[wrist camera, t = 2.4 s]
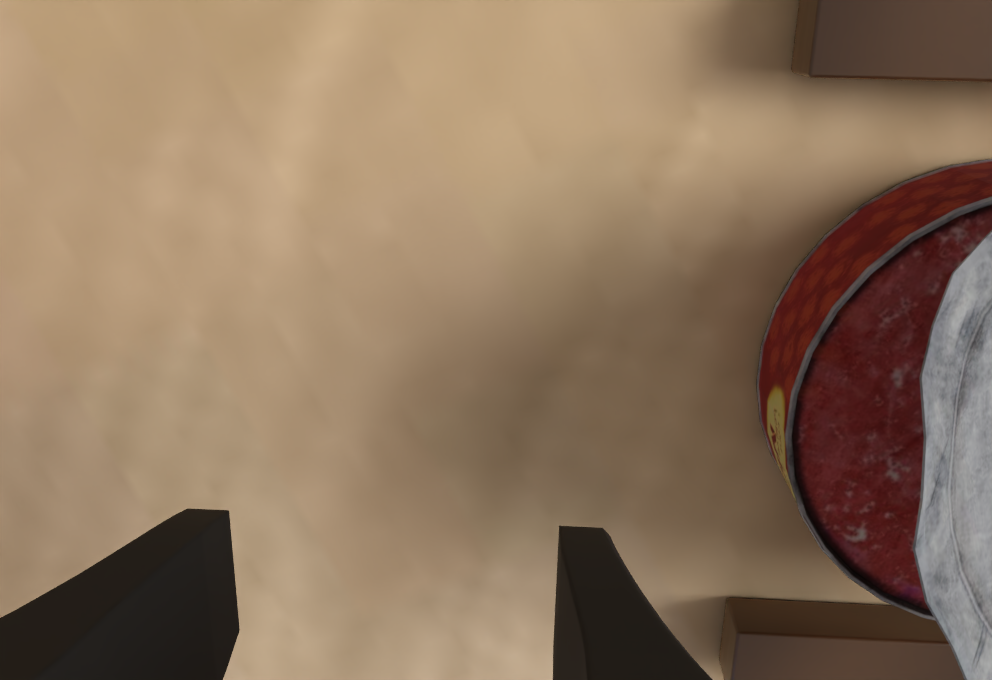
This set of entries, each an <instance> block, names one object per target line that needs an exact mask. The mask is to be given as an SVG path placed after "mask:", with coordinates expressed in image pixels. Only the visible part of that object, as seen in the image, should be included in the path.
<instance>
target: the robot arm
mask: <svg viewBox="0 0 992 680" xmlns="http://www.w3.org/2000/svg"><path fill="white" fill-rule="evenodd" d="M238 633H239V619H238V608H237V596H236V585H235V574H234V563H233V552H232V540H231V529H230V518H229V511H227V510H205V509H186V510H184V511H182V512H180V513H178V514H176V515H174V516H173V517H171V518H169V519H167V520H166V521H164V522H162V523H161V524H159V525H157V526H156V527H154V528H153V529H151V530H149V531H148V532H146V533H145V534H143V535H141V536H140V537H138V538H137V539H135V540H133V541H132V542H130V543H129V544H127V545H125V546H124V547H122V548H121V549H119V550H117V551H116V552H114V553H113V554H111V555H109V556H108V557H106V558H104V559H103V560H101V561H100V562H98V563H96V564H95V565H93V566H92V567H90V568H88V569H87V570H85V571H83V572H82V573H80V574H79V575H77V576H75V577H73V578H72V579H70V580H68V581H66V582H65V583H63V584H61V585H59V586H57V587H56V588H54V589H52V590H50V591H49V592H47V593H45V594H43V595H42V596H40V597H38V598H36V599H34V600H33V601H31V602H29V603H27V604H26V605H24V606H22V607H20V608H19V609H17V610H15V611H13V612H11V613H9V614H7V615H5V616H3V617H1V618H0V680H223V677H224V675H225V672H226V669H227V666H228V663H229V660H230V657H231V654H232V651H233V648H234V645H235V642H236V639H237V636H238ZM553 680H712V679H711V678H710V676H709V675H708V674H707V673H706V672H705V671H704V670H703V669H702V668H701V667H700V666H699V665H698V663H697V662H696V661H695V660H694V659H693V658H692V657H691V656H690V654H689V653H688V652H687V651H686V650H685V648H684V647H683V646H682V645H681V643H680V642H679V641H678V640H677V639H676V637H675V636H674V635H673V634H672V633H671V631H670V630H669V629H668V627H667V626H666V625H665V623H664V622H663V621H662V619H661V618H660V617H659V615H658V614H657V612H656V611H655V610H654V608H653V607H652V605H651V604H650V603H649V601H648V600H647V598H646V597H645V595H644V594H643V593H642V591H641V590H640V588H639V587H638V585H637V583H636V582H635V580H634V579H633V577H632V575H631V574H630V572H629V571H628V569H627V567H626V566H625V564H624V562H623V560H622V559H621V557H620V555H619V553H618V551H617V550H616V548H615V546H614V544H613V542H612V539H611V537H610V535H609V534H608V533H607V532H606V531H605V530H604V529H603V528H593V527H572V526H559V543H558V563H557V584H556V604H555V625H554V646H553Z"/></svg>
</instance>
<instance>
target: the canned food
mask: <svg viewBox="0 0 992 680" xmlns="http://www.w3.org/2000/svg"><path fill="white" fill-rule="evenodd" d="M757 394H758V406H759V417H760V422H761V426H762V429H763V432H764V435H765V438H766V441H767V444H768V447H769V450H770V453H771V456H772V457H773V459H774V461H775V462H776V464H777V466H778V467H779V469H780V471H781V473H782V474H783V476H784V478H785V480H786V483H787V485H788V487H789V489H790V491H791V493H792V495H793V497H794V499H795V501H796V503H797V506H798V509H799V512H800V515H801V517H802V518H803V520H804V522H805V523H806V525H807V527H808V528H809V530H810V532H811V533H812V535H813V537H814V538H815V540H816V542H817V543H818V545H819V547H820V548H821V550H822V551H823V552H824V553H825V554H826V555H827V556H828V557H829V558H830V559H831V560H832V561H833V562H834V563H835V564H836V565H837V566H838V567H839V568H840V569H841V571H842V572H843V573H844V574H845V575H846V576H847V577H848V578H850V579H851V580H853V581H854V582H855V583H857V584H858V585H860V586H861V587H863V588H864V589H866V590H867V591H869V592H870V593H872V594H873V595H875V596H876V597H878V598H879V599H880V600H882V601H884V602H887V603H889V604H891V605H894V606H896V607H899V608H901V609H903V610H906V611H908V612H910V613H913V614H915V615H917V616H920V617H922V618H926V619H931V620H935V621H936V622H937V624H938V625H939V627H940V629H941V631H942V632H943V634H944V636H945V638H946V639H947V641H948V643H949V645H950V646H951V648H952V651H953V653H954V656H955V658H956V660H957V663H958V665H959V667H960V670H961V672H962V674H963V677H964V679H965V680H992V159H988V160H982V161H975V162H969V163H963V164H956V165H950V166H947V167H944V168H941V169H938V170H935V171H932V172H929V173H927V174H924V175H921V176H918V177H915V178H912V179H909V180H907V181H904V182H902V183H900V184H898V185H897V186H895V187H893V188H891V189H889V190H888V191H886V192H884V193H882V194H881V195H879V196H877V197H875V198H873V199H872V200H870V201H868V202H866V203H864V204H863V205H861V206H860V207H859V208H858V209H856V210H855V211H854V212H853V213H851V214H850V215H849V216H848V217H846V218H845V219H844V220H843V221H842V222H840V223H839V224H838V225H837V226H835V227H834V228H833V229H832V230H831V231H829V232H828V233H827V234H826V235H825V236H824V237H823V238H822V239H821V241H820V242H819V243H818V244H817V245H816V246H815V248H814V249H813V250H812V251H811V252H810V253H809V255H808V256H807V257H806V258H805V259H804V260H803V262H802V263H801V264H800V265H799V266H798V267H797V269H796V270H795V272H794V274H793V275H792V277H791V279H790V280H789V282H788V284H787V286H786V287H785V289H784V291H783V293H782V294H781V296H780V298H779V299H778V301H777V303H776V305H775V307H774V310H773V312H772V315H771V318H770V321H769V324H768V327H767V330H766V333H765V336H764V339H763V342H762V344H761V352H760V360H759V368H758V375H757Z"/></svg>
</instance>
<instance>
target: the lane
mask: <svg viewBox="0 0 992 680" xmlns="http://www.w3.org/2000/svg"><path fill="white" fill-rule="evenodd" d="M791 70H792V72H793V73H796V74H800V75H803V76H807V77H811V78H845V79H886V80H928V81H970V82H992V0H800V2H799V10H798V18H797V26H796V34H795V42H794V51H793V59H792V67H791ZM719 661H720V665H721V669H722V673H723V677H724V680H965V679H964V677H963V674H962V672H961V670H960V667H959V665H958V663H957V660H956V658H955V656H954V653H953V651H952V648H951V646H950V645H949V643H948V641H947V639H946V638H945V636H944V634H943V632H942V631H941V629H940V627H939V625H938V624H937V622H936V621H935V620H931V619H926V618H922V617H920V616H917V615H915V614H913V613H910V612H908V611H906V610H903V609H901V608H899V607H896V606H885V605H865V604H845V603H825V602H805V601H784V600H764V599H744V598H727V601H726V607H725V615H724V623H723V631H722V639H721V648H720V656H719Z"/></svg>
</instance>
